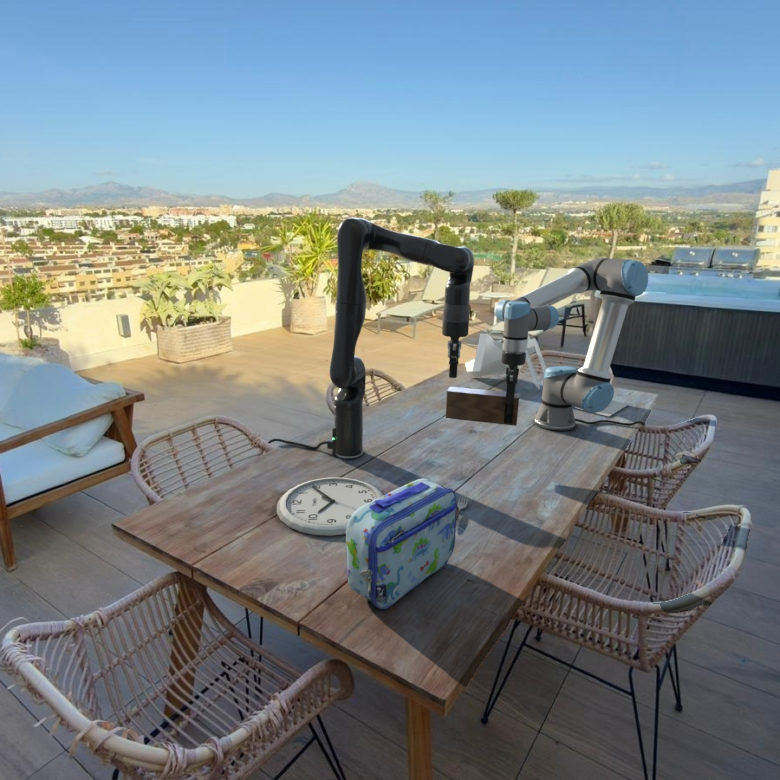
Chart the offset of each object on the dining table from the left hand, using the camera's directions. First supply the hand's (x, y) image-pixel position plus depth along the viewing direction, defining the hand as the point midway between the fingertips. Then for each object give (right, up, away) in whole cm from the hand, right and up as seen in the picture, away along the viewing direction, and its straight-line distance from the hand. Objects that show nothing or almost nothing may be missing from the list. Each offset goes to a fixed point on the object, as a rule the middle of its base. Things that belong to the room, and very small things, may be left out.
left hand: (452, 373), depth 154 cm
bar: (+12, -15, +21) cm, 28 cm away
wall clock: (-34, -36, -12) cm, 51 cm away
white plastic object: (+37, -2, +103) cm, 109 cm away
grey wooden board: (+73, -12, +72) cm, 103 cm away
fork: (-1, -38, -15) cm, 41 cm away
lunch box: (-16, -46, -41) cm, 64 cm away
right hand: (+21, -15, +18) cm, 31 cm away
